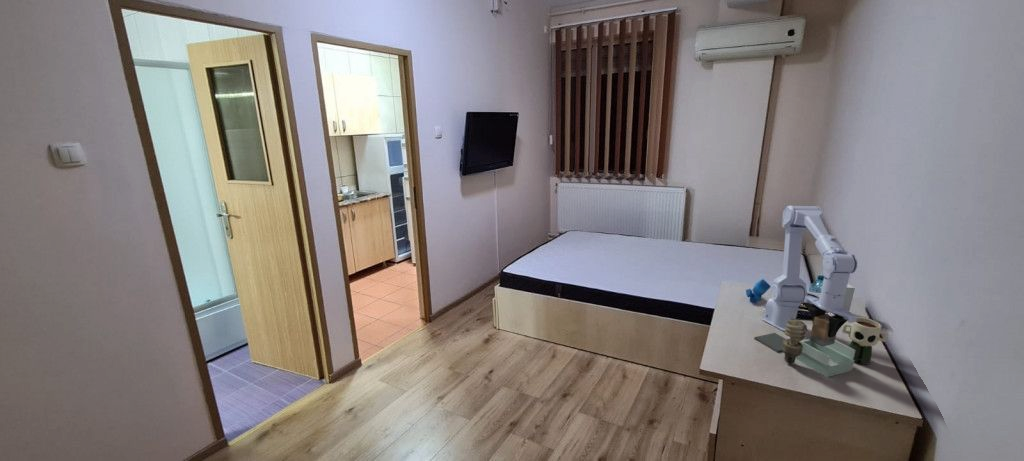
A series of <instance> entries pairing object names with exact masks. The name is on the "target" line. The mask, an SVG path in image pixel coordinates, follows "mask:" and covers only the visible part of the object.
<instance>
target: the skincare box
mask: <svg viewBox="0 0 1024 461" xmlns="http://www.w3.org/2000/svg"><path fill="white" fill-rule="evenodd" d="M855 289H856V288H855V287H854V286H852V285H851V284H850V283H848V284H847V288H846V293H845V297H844V301H843V305H842V307H843V308H845V309H846V310H848V311H849V312H851V311H850V310H851V306H852V302H853V298H854V297H853V296H854V293H855ZM833 316H835V314H833Z"/></svg>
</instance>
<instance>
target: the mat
mask: <svg viewBox="0 0 1024 461" xmlns="http://www.w3.org/2000/svg"><path fill="white" fill-rule="evenodd" d="M785 339H786V338H785V337H783V336H782V335H780V334H777V333H776V332H772V333H767V334H763V335H758V336H757V335H756V336H755V337H754V339H753V340H756V341H757V342H759V343H761V344H763V345H764V346H765V347H767V348H769V349H771V350H773V351H774V352H776V353H781V352H783V350H782V343H783V340H785Z"/></svg>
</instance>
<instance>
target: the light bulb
mask: <svg viewBox="0 0 1024 461" xmlns="http://www.w3.org/2000/svg"><path fill="white" fill-rule="evenodd" d="M785 330H786V331H783V332H784V335H785V336H787V337H789V338H785V340H783V343H782V350H783V351H782V352H783V354H784V357H783V358H784V361H785V363H787V364H788V365H793V364H795V362H796V357H797V356H799V355H800V354H801V352H802V349H803V345H802V344H801V343H800V342H799V341H803V340H805V337H806V336H805V335H806V334H807V330H808V326H807V324H806V323H805V322H804V321H801V320H799V319H797V318H796V319H792V318H791V319H789V322H787V323H786V327H785Z"/></svg>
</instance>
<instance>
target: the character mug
mask: <svg viewBox="0 0 1024 461" xmlns="http://www.w3.org/2000/svg"><path fill="white" fill-rule="evenodd" d="M847 327H848V328H849V330H847ZM841 328H842V329H841V333H843V334H847V335H848V337H849V339H850V343H849V345H848V347H850V348H852V349H854V350H855V354H854V358H853V360H854V363H858V362H859V361H860V364H862V365H868V364H870V363H871V361H872V353H873V352H872V351H873V350H872V349H873V346H876V345H877V344H878V343H879V342H883V343H884V342H887V340H888V336H889V332H888V331H884V330H882V328H883V327H882V324H881V323H880V322H878V321H876V320H873V319H871V318H867V317H862V316H857V320H856V322H853V323H847V322H846V323H844V324H843V325H842V326H841ZM880 335H883V336H882V337H880Z"/></svg>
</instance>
